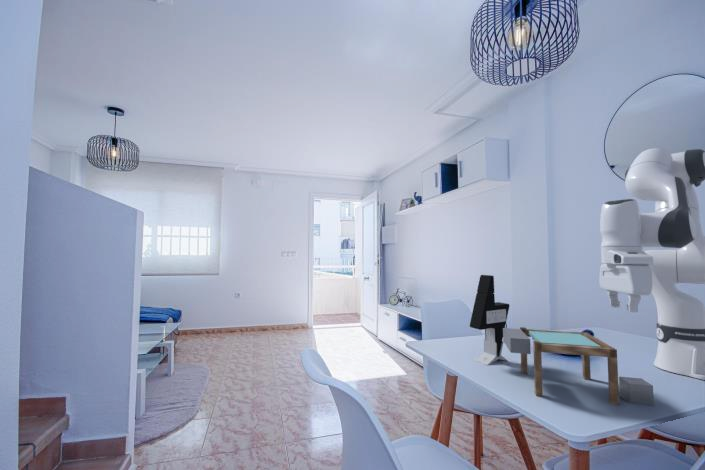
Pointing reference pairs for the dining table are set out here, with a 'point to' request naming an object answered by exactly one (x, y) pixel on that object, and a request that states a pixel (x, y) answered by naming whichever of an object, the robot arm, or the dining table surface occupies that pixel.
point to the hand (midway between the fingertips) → (623, 309)
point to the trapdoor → (541, 339)
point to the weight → (636, 391)
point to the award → (489, 320)
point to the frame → (575, 350)
